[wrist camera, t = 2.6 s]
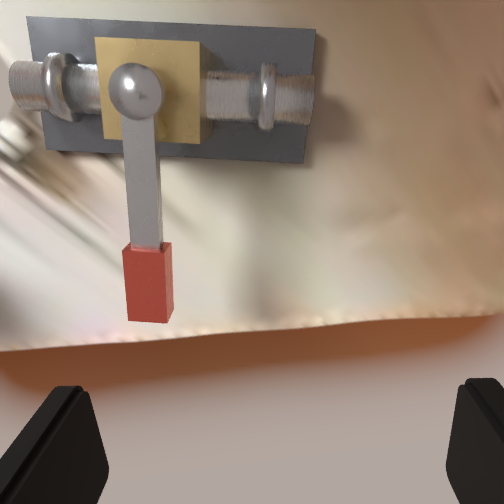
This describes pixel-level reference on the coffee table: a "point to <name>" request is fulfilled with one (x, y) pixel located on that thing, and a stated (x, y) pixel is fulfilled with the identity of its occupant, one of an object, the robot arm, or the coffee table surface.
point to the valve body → (172, 86)
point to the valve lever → (143, 193)
